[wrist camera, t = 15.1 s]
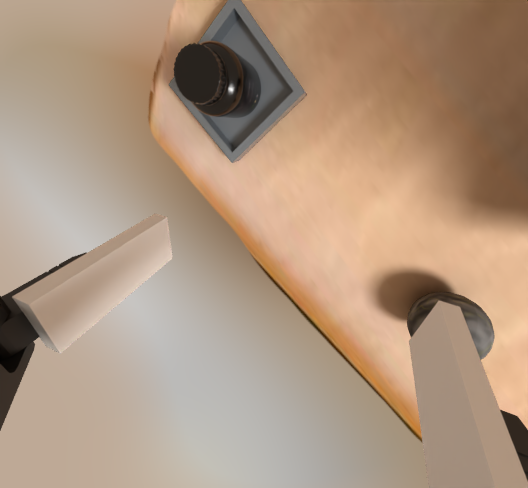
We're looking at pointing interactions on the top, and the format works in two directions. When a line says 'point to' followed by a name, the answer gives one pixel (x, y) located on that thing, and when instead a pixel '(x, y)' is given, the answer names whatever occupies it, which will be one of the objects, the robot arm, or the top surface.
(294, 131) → the top surface
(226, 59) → the supplement bottle
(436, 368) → the robot arm
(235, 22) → the tray
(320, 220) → the top surface
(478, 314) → the decorative stone
